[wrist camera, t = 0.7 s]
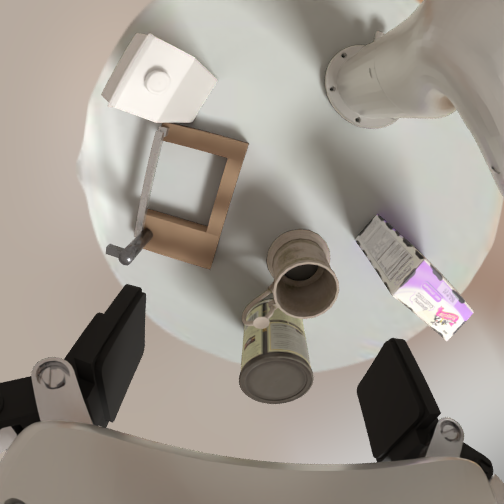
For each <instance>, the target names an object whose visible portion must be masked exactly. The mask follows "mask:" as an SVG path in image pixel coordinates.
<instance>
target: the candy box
mask: <svg viewBox="0 0 504 504" xmlns="http://www.w3.org/2000/svg"><path fill="white" fill-rule="evenodd" d="M355 240H356V242H357V244H358V245H359V246H360V248H361V249H362V251H363V252H364V254H365V255H366V256H367V258H368V259H369V261H370V262H371V264H372V265H373V267H374V269H375V270H376V271H377V273H378V275H379V276H380V278H381V279H382V281H383V282H384V284H385V285H386V287H387V289H388V290H389V292H390V293H391V295H392V296H393V297H394V298H396V299H398V300H399V301H400V302H402V303H403V304H404V305H405V306H406V307H408V308H409V309H410V310H411V311H412V312H413V313H415V314H416V315H417V316H418V317H419V318H420V319H421V320H423V321H424V322H425V323H426V324H427V325H428V326H430V327H431V328H432V329H433V330H434V331H436V332H437V333H438V334H439V335H440V336H441V337H442V338H444V339H445V340H446V341H448V340H449V339H450V337H452V335H453V334H454V333H456V331H457V330H458V329H459V328H460V327H461V326H462V325H463V324H464V323H465V322H466V321H467V320H468V318H469V317H470V316H471V315H472V314H473V313H474V311H473V310H472V308H471V307H470V306H469V305H468V304H467V302H466V301H465V300H464V299H463V297H462V296H461V295H460V294H459V293H458V291H457V290H456V289H455V288H454V287H453V286H452V285H451V284H450V282H449V281H448V280H447V279H446V278H445V277H444V276H443V275H442V274H441V273H440V272H439V271H438V270H437V269H436V268H435V267H434V266H433V265H432V264H431V263H430V262H429V261H428V260H427V259H426V258H425V257H424V256H423V255H422V254H421V253H420V252H419V251H418V250H417V249H416V248H415V247H413V246H412V245H411V244H410V243H409V242H408V241H407V240H406V239H405V238H404V237H403V236H402V235H401V234H399V233H398V232H397V231H396V230H395V229H394V228H393V227H392V226H391V225H390V224H388V223H387V222H386V221H385V220H384V219H383V218H382V217H381V216H380V215H378V214H377V215H376V216H375V217H374V218H373V219H372V220H371V222H370V223H369V224H368V225H367V226H366V227H365V229H364V230H363V231H362V232H361V233H360V234H359V235H358V236H357V238H356V239H355Z"/></svg>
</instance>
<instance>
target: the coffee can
mask: <svg viewBox="0 0 504 504" xmlns="http://www.w3.org/2000/svg"><path fill="white" fill-rule="evenodd" d="M272 300H274V299H269V300H264V301H261V302H259V303H257V304H256V305H254V306H253V307H252V308H251V309H250V310H249V312H248V313H247V316H246V321H254V320H255V318H257V317H263V316H265V315H266V314H267V313H268V312H269V311H270V308H269V307H268V302H270V301H272ZM269 322H270V323H269V326H268V327H266V328H264V329H258V328H256V327H255V326H247V325H245V324H244V338H243V350H242V361H241V372H240V376H239V385H240V388H241V390H242V391H243V392H244V393H245V394H246V395H247V396H248V397H250V398H252V399H254V400H256V401H258V402H262V403H269V404H280V403H286V402H290V401H293V400H295V399H298V398H299V397H301V396H303V395H304V394H305V393H306V392H307V391H308V390H309V389H310V387H311V386H312V383H313V372H312V369H311V366H310V360H309V354H308V348H307V343H306V337H305V332H304V326H303V319H300V318H294V317H291V316H289V315H286V314H285V313H284V312H283V311H281V310H280V309H279V308H277V309H276V310H274V313H273V315H272V316H271V317H270V318H269Z"/></svg>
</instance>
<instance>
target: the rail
mask: <svg viewBox="0 0 504 504" xmlns="http://www.w3.org/2000/svg"><path fill="white" fill-rule="evenodd" d="M168 131H169V128H167V127H163V126H159V128H158V131H156V133H155V136H154V140H153V144H152V148H151V153H150V157H149V161H148V166H147V170H146V175H145V179H144V184H143V189H142V194H141V199H140V204H139V210H138V216H137V221H136V227H135V234H134V237H137V236H138V235H139V234H141V233H142V232H143V231H144V225H145V220H146V215H147V209H148V204H149V199H150V194H151V190H152V185H153V180H154V176H155V172H156V167H157V163H158V159H159V155H160V151H161V147H162V143H163V139H164V137H167V135H168Z"/></svg>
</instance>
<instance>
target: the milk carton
mask: <svg viewBox="0 0 504 504" xmlns="http://www.w3.org/2000/svg"><path fill="white" fill-rule="evenodd" d="M217 82H218V79H217V78H215V77H214V76H213V75H212V74H211V73H210V72H209V71H208V70H207V69H206V68H205V67H204V66H203V65H202V64H201V63H200V62H199V61H198V60H197V59H196V58H195V57H193V56H191V55H189V54H187V53H186V52H184V51H182V50H180V49H178V48H176V47H174V46H172V45H171V44H169V43H167V42H165V41H163V40H161V39H159V38H157V37H155V36H153V35H152V34H150V33H149V34H148V35H146V34H140V33H136V34H135V36H134V37H133V39H132V40H131V42H130V44H129V45H128V47H127V49H126V50H125V52H124V54H123V55H122V57H121V59H120V60H119V62H118V64H117V66H116V67H115V69H114V71H113V73H112V75H111V77H110V78H109V80H108V82H107V84H106V86H105V88H104V90H103V92H102V94H101V95H102V96H103V97H104V98H105V99H106V100H107V101H108V102H109V104H108V107H114V108H117V109H120V110H123V111H126V112H128V113H131V114H134V115H137V116H139V117H142V118H145V119H147V120H150V121H152V122H155V123H172V122H183V123H191V122H193V120H194V119H195V117H196V116H197V114H198V112H199V111H200V109H201V107H202V106H203V104H204V103H205V101H206V99H207V98H208V96H209V95H210V93H211V91H212V90H213V88H214V87H215V85H216V84H217Z"/></svg>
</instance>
